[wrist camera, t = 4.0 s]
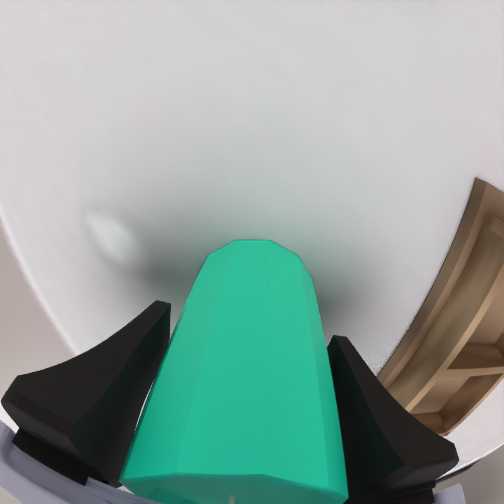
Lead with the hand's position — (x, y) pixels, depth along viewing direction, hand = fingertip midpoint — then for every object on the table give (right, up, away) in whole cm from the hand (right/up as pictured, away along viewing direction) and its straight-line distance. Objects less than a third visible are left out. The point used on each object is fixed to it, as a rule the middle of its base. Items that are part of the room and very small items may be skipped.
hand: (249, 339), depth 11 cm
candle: (0, +2, +3) cm, 4 cm away
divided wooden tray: (+15, -2, +4) cm, 15 cm away
